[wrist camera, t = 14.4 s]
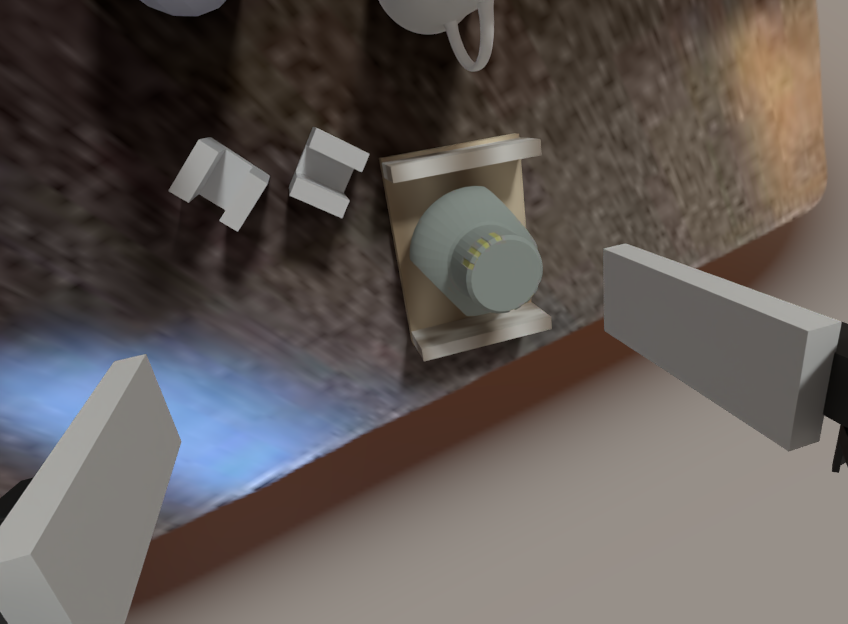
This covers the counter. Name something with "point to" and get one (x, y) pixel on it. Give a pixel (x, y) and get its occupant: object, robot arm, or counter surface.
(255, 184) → the clip
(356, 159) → the clip
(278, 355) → the counter surface
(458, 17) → the mug
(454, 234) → the air freshener
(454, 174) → the end holder
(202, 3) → the white orange spray bottle
